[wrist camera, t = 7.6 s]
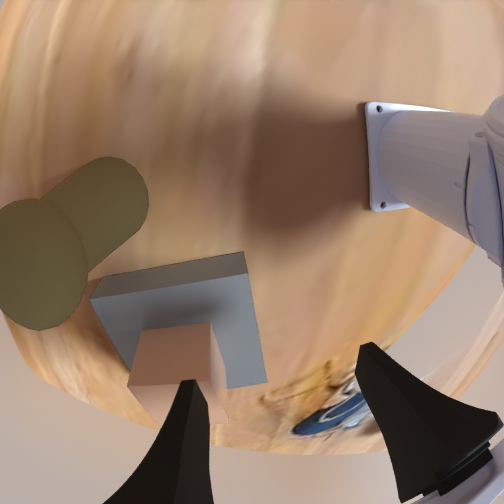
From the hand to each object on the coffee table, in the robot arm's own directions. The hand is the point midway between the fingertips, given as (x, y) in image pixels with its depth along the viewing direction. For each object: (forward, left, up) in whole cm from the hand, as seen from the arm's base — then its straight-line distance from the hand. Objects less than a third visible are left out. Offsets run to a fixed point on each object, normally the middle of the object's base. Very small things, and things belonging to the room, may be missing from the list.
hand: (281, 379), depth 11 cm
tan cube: (+6, +4, -7) cm, 10 cm away
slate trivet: (+6, +4, -10) cm, 12 cm away
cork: (+9, -7, -10) cm, 15 cm away
